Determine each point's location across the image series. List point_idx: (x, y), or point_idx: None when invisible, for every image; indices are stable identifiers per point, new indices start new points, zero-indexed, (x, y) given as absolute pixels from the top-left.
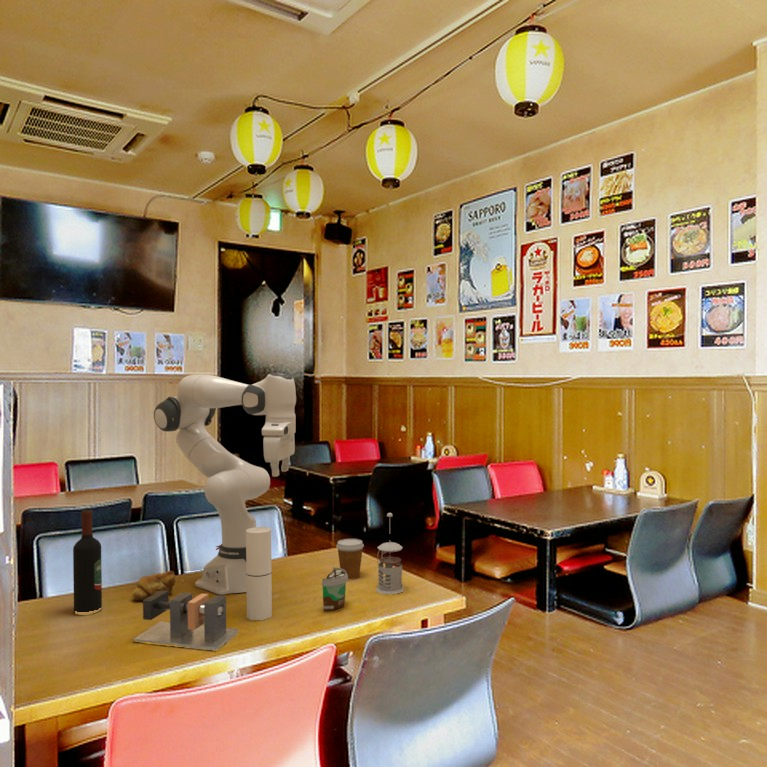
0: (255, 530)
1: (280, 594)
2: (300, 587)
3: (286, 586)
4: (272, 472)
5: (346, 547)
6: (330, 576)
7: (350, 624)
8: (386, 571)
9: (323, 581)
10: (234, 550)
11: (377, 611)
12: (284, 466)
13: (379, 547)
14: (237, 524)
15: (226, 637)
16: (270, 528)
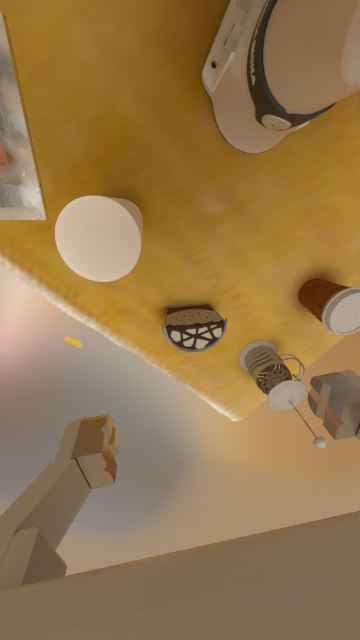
0: (87, 235)
1: (222, 212)
2: (258, 233)
3: (262, 206)
4: (62, 445)
5: (326, 314)
6: (189, 331)
7: (133, 350)
8: (254, 375)
9: (163, 329)
10: (256, 63)
11: (181, 364)
12: (336, 420)
13: (281, 386)
14: (304, 26)
15: (8, 216)
16: (128, 272)
